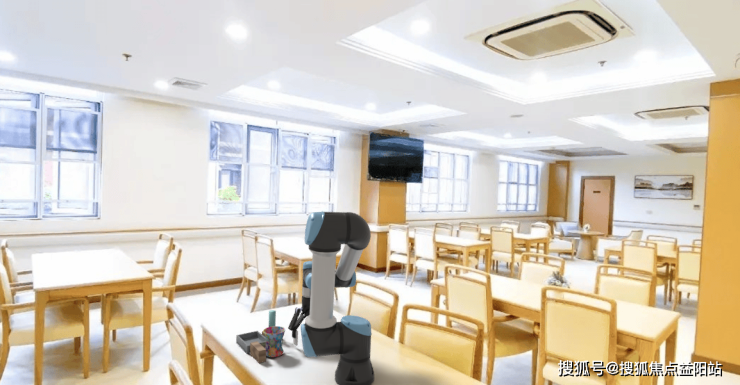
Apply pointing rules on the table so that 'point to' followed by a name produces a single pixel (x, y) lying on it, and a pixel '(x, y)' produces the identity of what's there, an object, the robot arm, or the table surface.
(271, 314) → the dowel
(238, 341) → the tray
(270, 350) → the mug
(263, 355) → the block
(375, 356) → the table surface
